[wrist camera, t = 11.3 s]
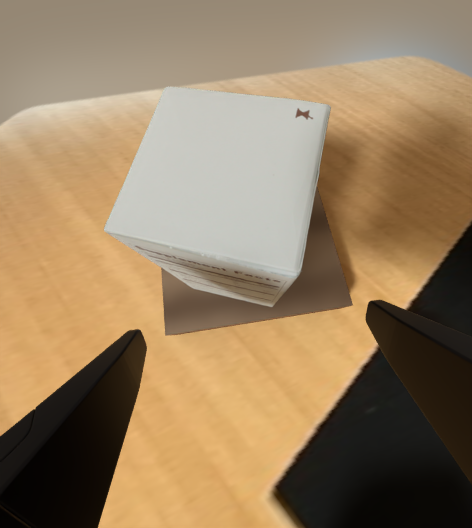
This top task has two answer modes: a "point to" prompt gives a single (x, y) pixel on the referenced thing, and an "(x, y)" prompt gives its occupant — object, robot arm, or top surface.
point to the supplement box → (224, 190)
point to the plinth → (242, 312)
